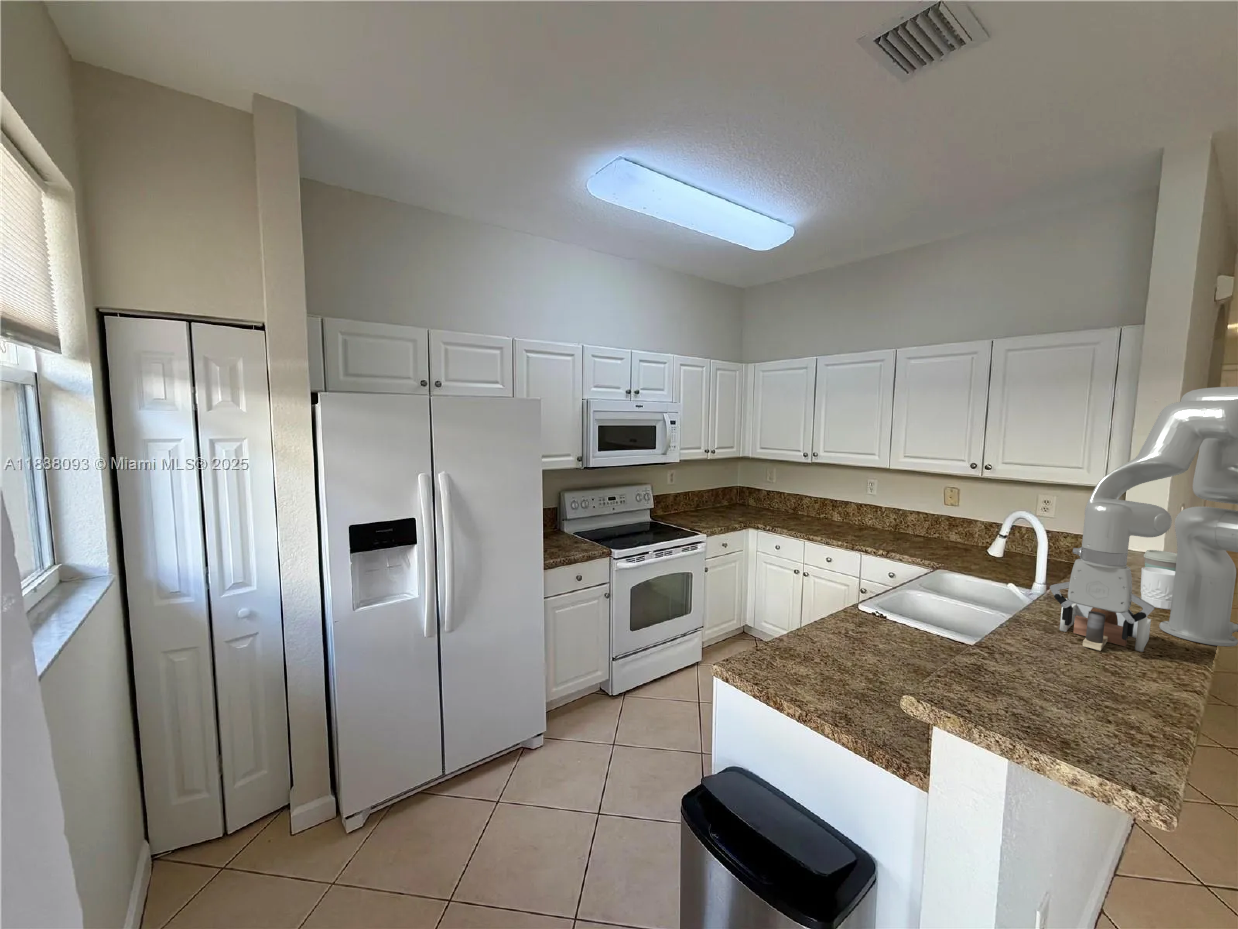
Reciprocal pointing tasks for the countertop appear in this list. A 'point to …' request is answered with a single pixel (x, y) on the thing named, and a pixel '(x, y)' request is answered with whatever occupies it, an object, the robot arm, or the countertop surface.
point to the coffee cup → (1160, 559)
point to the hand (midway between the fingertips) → (1095, 631)
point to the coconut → (1108, 616)
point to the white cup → (1157, 586)
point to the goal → (1139, 630)
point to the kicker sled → (1098, 631)
